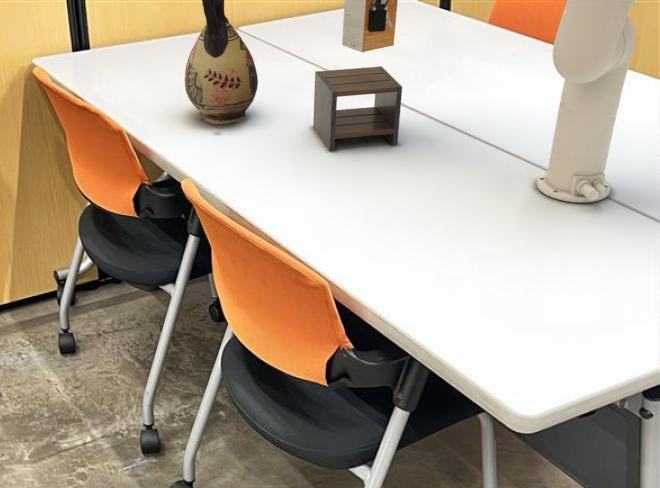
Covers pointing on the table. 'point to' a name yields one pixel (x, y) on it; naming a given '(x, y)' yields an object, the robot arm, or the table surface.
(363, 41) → the small box
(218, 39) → the ceramic jug
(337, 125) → the rack
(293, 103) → the table surface
